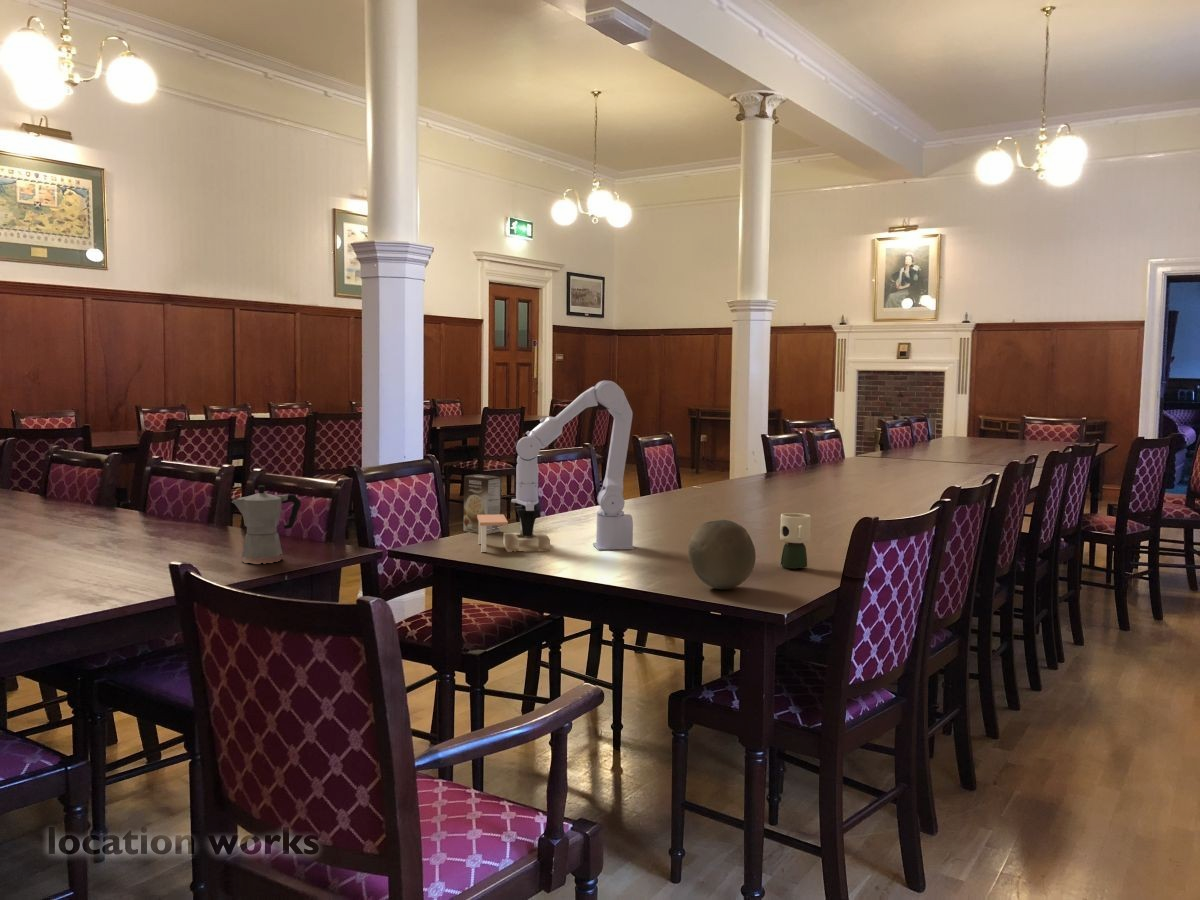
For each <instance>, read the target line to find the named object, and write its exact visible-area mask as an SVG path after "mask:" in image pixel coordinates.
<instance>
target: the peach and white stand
mask: <svg viewBox="0 0 1200 900" xmlns="http://www.w3.org/2000/svg"><path fill="white" fill-rule="evenodd" d="M477 519H478V521H479V533H478V545H479V544H481V545H480V546H481V547H480V552H486V553H487V534H486V526H492V525H500V526H508V524H509V521H508V520H507V518H506V517H505V515H504V514H501V513H500V515H477Z"/></svg>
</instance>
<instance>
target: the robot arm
mask: <svg viewBox="0 0 1200 900" xmlns="http://www.w3.org/2000/svg"><path fill="white" fill-rule="evenodd" d="M629 403H630V402H629V401H628V399H627V397H626V394H625V391H624V390H623V389H622V388H621V387H620V386H619V385H618V384H617V383H616V382H614V381H612V380H600V381H599V382H597V383H596V384H595V385H594V386H591V387H589V388H588V389H586V390H585V391H583V392H582V393H580V394H579V395H578V396H577V397H576V398H575V399H574V400H573V401H571V403H569V404H568V405H567V406H565V408H564V409H563V410H561V411H560V412H559V413H558V414H556V416H547V417H546V418H544V417H542V418H541V419H540V420H539V422H540V423H538V425H536V426H535V427H534V428H533V429H532V430H530V431H529V430H527V431H526V432H525V435H527V436H523V437H521V438H520V439H519V440H517V443H516V446H515V450H516V453H517V458H516V463H517V464H516V468H515V469H516V474H515V475H516V477H515V483H516V484H515V498H512V499H511V501H510V502H511V503H515V504H519V505H516V506H514V509H515V511H516V512H517V515H518V520H519V522H520V519H521V525H522V532H523V536H531V535H532V532H533V527H535V522H536V520H537V516H538V514H539V512H540V510H539V509H537V504H539V501H540V499H539V464H538V455H539V454H540V450H542V449H543V450H544V449H545V448H546V447H548V446H549V445H551V443H553V442H554V441H555V440H556V439H557V438H558V437H560V436H561V435H562V434H563V427H564V426H565V425H567V423H569V422H570V421H571V420H572V419H574V418H575V417H576V416H578V415H579V414H580V413H582V412H583V411H585V410H586V409H587V408H591V407H597V406H599V404H600V405H602V406H603V407H605V409H606V410H607V411H608V412H609V414H610V415H611V416H612V417H613V423H612V429H611V435H610V443H609V449H608V456H607V463H606V468H605V469H606V470H605V475H604V479H603V481H602V487H601V490H600V491H599V492H598V494H597V497H596V499H597V503H598V506H599V509H598V510H597V511H596V537H595V539H596V542H592V545H593V546H594V547H595V548H596V549H597V550H599V551H600V550H603V551H605V550H607V551H608V550H609V551H610V550H633V549H634V546H633V544H634V543H633V540H634V539H633V538H634V537H633V536H634V520H633V516H632V514H630V513H629V514H628V513H627V514H626V513H625V511H623V509H624V508H625V498H624V493H623V492H624V476H625V474H624V473H625V468H626V463H627V462H626V461H627V455H628V448H629V441H630V436H631V435H630V434H631V428H632V423H633V422H632V421H633V410H632V408H631V405H630V404H629Z"/></svg>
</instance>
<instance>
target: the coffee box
mask: <svg viewBox="0 0 1200 900" xmlns="http://www.w3.org/2000/svg"><path fill="white" fill-rule="evenodd" d="M501 478H502V476H496V475H487V474H478V473H477V474H470V475H464V477H463V481H464V482H463V527H462V528H463V531H464V532H470V533H475V532H476V534H479V521H478V519H477V515H501V485H502V480H501ZM497 527H500V528H501V525H492V526H486V535H489V534H496V533H498V532H499V533H500V530H501V529H500V528H497ZM492 528H495V529H492ZM487 529H490V530H487Z"/></svg>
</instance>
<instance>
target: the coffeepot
mask: <svg viewBox="0 0 1200 900" xmlns="http://www.w3.org/2000/svg"><path fill="white" fill-rule="evenodd" d="M257 490H258V493H254V494H251V495H248V496H243V497H238V498H234V499H232V501H231V503H232V504H234V505H235V506H236V508H237V509H238V510H239V512H240V514H241V515H242V518H243V522H244V523H243V524H244V527H246V534H245V536H244V543H243V548H242V549H243V550H242V554H241V558H242V557H246V558H269V557H275V556H279V555H280V554H282V555H283V552H282V551H283V550H282V547H281V545H282V544H281V541H280V535H279V533H278V532H277V531H278V529H277V526H278V525H279V524H280V518H281V513H282V512H281V511H282V505H283V504H287V503H292V507H291V513H290V515H289V517H288V523H287V524H283V525H282V526H283V528H284V529H285V530H287V529H288V530H289V529H292V528H293V527H294V525H295V521H296V519H297V517H298V514H299V511H300V508H301V505H302V502H301V500H300V499H299V497H298V496H297V495H295V494H289V493H288V494H278V495H275V494H271V493H266V492H265V490H266V485H261V484H260V485H258V486H257Z"/></svg>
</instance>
